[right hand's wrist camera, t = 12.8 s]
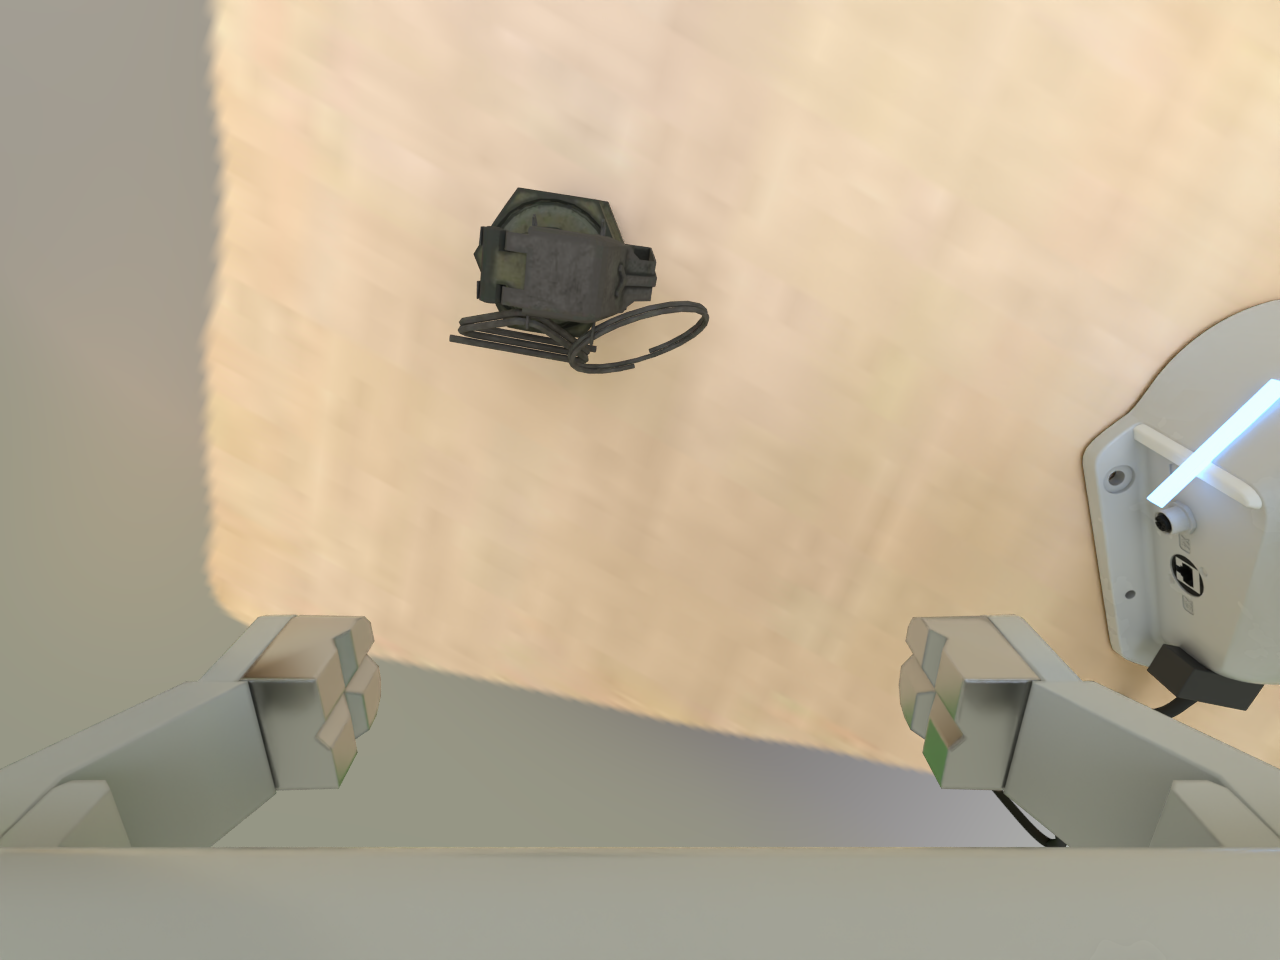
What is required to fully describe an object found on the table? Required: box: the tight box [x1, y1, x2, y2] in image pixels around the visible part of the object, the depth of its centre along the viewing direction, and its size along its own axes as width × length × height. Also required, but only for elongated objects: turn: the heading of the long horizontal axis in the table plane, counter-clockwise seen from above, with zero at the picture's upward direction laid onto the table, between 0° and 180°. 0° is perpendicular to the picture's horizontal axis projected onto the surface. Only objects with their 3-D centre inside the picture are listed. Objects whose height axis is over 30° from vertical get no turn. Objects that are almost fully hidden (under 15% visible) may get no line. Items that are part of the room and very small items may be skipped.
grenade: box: [450, 188, 709, 374], centre depth 27 cm, size 9×6×15 cm, turn 82°
